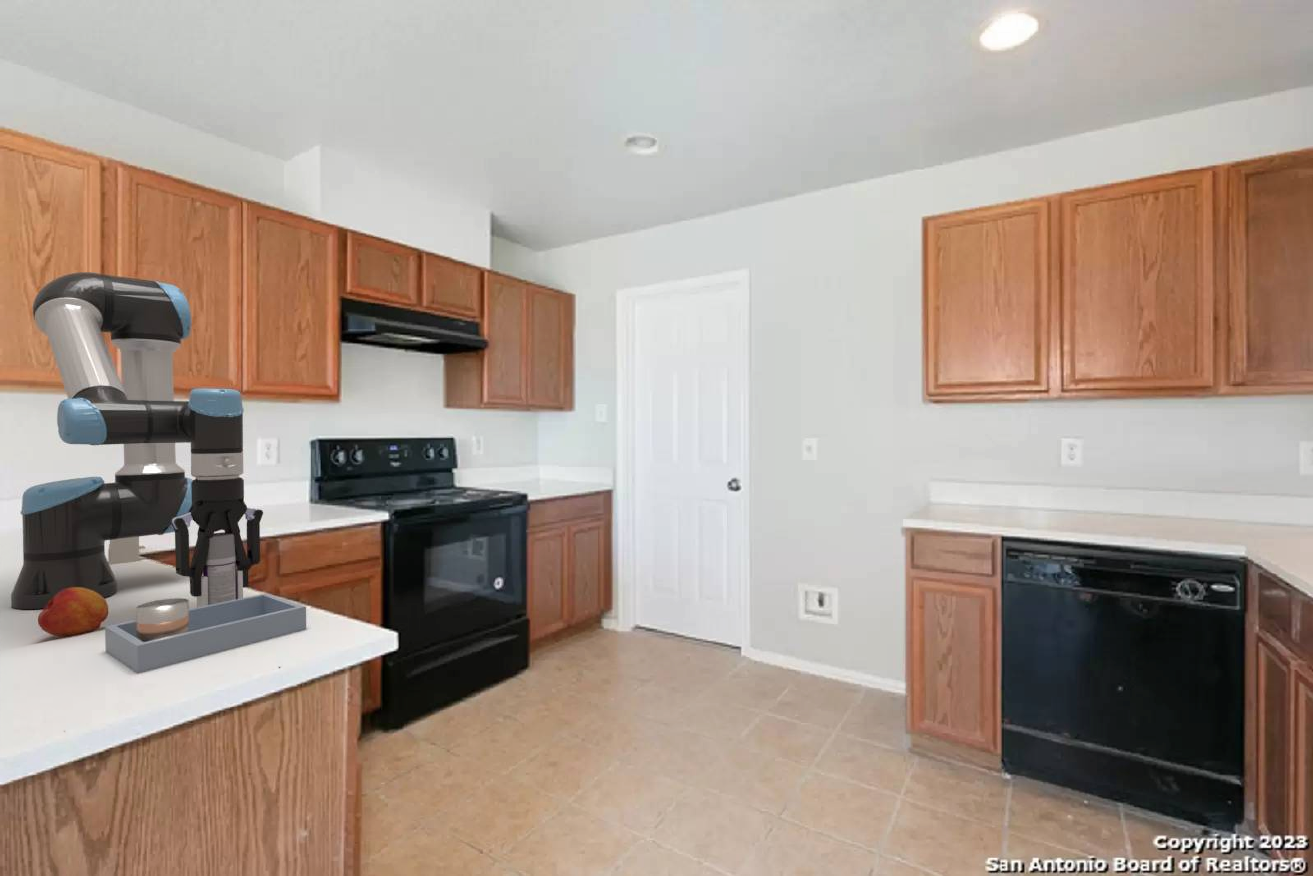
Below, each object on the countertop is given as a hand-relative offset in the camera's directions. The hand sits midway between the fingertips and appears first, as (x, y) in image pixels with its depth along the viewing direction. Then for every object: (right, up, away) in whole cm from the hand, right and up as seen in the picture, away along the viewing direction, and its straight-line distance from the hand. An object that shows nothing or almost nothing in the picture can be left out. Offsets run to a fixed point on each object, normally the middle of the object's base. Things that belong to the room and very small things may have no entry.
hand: (220, 609), depth 110 cm
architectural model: (-56, -1, +46) cm, 72 cm away
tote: (+7, -2, -12) cm, 14 cm away
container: (0, -2, 0) cm, 2 cm away
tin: (+4, -1, -17) cm, 18 cm away
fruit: (-18, -2, -8) cm, 20 cm away
